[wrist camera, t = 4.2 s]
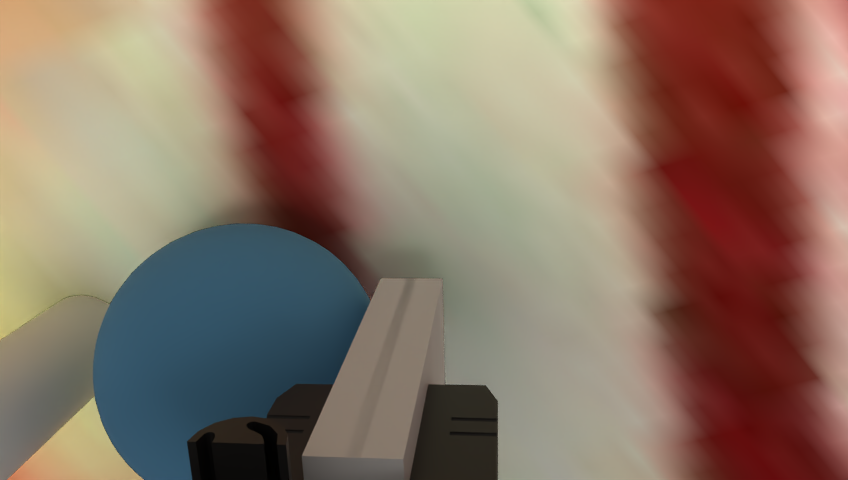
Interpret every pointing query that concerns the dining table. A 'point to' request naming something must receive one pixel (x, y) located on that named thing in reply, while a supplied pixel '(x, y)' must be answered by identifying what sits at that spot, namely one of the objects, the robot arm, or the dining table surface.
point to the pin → (46, 376)
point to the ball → (218, 337)
